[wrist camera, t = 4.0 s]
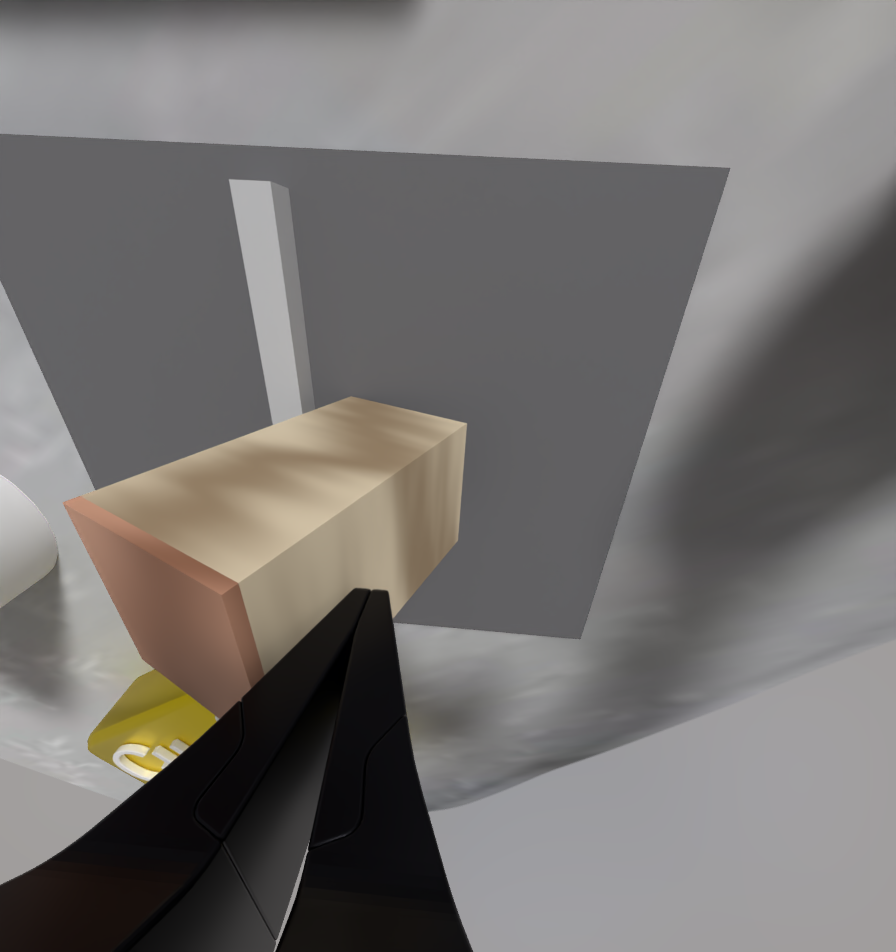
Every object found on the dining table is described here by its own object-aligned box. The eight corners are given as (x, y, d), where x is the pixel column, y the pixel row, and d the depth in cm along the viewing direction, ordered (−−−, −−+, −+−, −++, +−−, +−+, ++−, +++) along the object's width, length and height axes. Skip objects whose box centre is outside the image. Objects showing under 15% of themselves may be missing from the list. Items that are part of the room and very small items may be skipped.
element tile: (272, 778, 33) (243, 852, 29) (125, 679, 28) (62, 753, 23) (415, 737, 29) (404, 818, 24) (274, 609, 23) (228, 685, 19)
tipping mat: (715, 173, 12) (757, 157, 10) (576, 626, 21) (585, 659, 20) (-37, 138, 13) (-120, 118, 11) (155, 588, 22) (127, 616, 20)
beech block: (466, 423, 13) (221, 594, 6) (457, 540, 16) (274, 761, 8) (351, 396, 15) (62, 502, 8) (359, 504, 17) (142, 659, 10)
